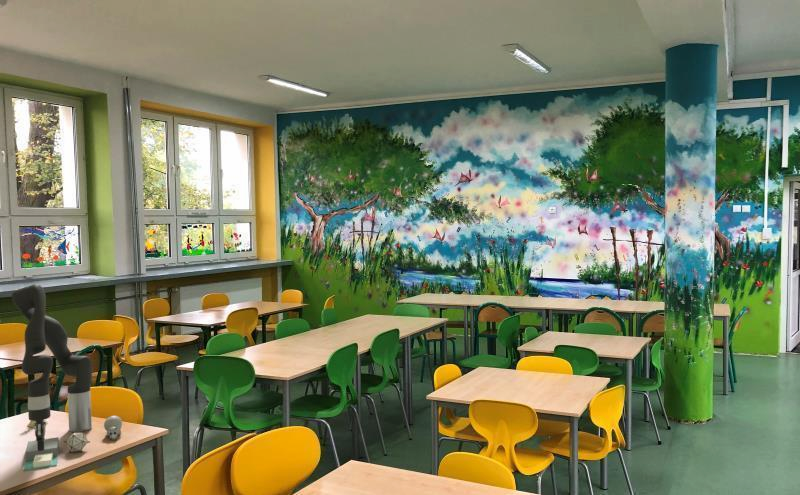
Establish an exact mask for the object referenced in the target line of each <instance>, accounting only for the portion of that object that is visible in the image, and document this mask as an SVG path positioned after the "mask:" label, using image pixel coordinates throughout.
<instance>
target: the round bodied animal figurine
mask: <svg viewBox="0 0 800 495" xmlns="http://www.w3.org/2000/svg"><path fill="white" fill-rule="evenodd" d="M122 426H123V420H122V418H121V417H119V416H118V415H111V416H109V417H107V418H105V421H104V422H103V427H104V429H105V431H106V436H107V437H109V438H110V439H111V440H112V441H114V440H117V438H118V436H120V435H121V434H122Z"/></svg>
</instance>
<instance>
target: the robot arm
mask: <svg viewBox="0 0 800 495" xmlns="http://www.w3.org/2000/svg"><path fill="white" fill-rule="evenodd" d="M11 298H12V299H11V300H12V302H13V304H14V305H15V307H16V308H17V310H18V311H19V312H20V313H21V314H22V315H23V316H24V317H25V319H27V321H28V323H27V325H26V328H25V330H24V345H25V347H24V348H25V351H24V352H25V353H24V355H23V359H22V362H21V371H22V372H23V374H25V375H26V376H27V375H28V376H29V375H36V374H37V375H39V374H42V375H41V376H39V377H37V378H35V379H33V380H30V381H28V384H27V391H28V392H27V394H28V395H27V397H28V398H27V411H28V413H27V414H28V420H29V421H36V423H34V427H33V430H34V436H35V440H36V441H37V447H38V451H43V450H44V439H46V438H45V435H46V432H47V431H46V426H47V424H46V422H44V419H45V420H47V419H50V417H51V416H52V415H51V398H50V388H49V384H50V376H51V372H52V369H53V365H54V360H53V357H52V356H51V355H50V354H42V353H43V352H44V351H45V350H46V348H47V347H48V349H49V350H50V352H51V353H52V354H53V356H54V358H55V359H56V362H57V363H58V365H59V367H60V369H61V370H62V372H63V374H65V375H66V376H68V377H75V382H74V383H72V384H69V385H68V386H67V410H68V412H67V413H68V414H67V415H68V430H69V432H72V431H73V432H74V433H80V432H84V431H85V432H86V431H88V430H92V429H93V427H92V426H93V425H92V402H91V401H92V400H91V398H92V397H91V386H92V382H93V381H92V380H93V377H92V375H93V364H92V359H91V358H90V357H89V356H87V355H75V354H73V353H72V352H71V350H70V349H69V348H68V341H69V340H68V338H69V337H68V333H67V331H66V329H65V328H64V327H63V325H62V324H61V322H59V321H58V320H57V319H55V318H53V317H51V316H49V315H47V314H46V308H47V307H46V306H47V296H46V292H45V290H44V288H43V286H42V285H40V284H38V283H34V284H31V285H26V286H24V287H21V288H18V289H16V290H14V291H13V292H12V294H11ZM46 346H47V347H46ZM40 353H41V354H40Z"/></svg>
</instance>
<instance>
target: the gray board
mask: <svg viewBox="0 0 800 495" xmlns="http://www.w3.org/2000/svg"><path fill="white" fill-rule="evenodd" d="M59 439H60V438H59V436H58V437H51V438H45V439H44V450H43V451H38V447H37V441H36V439H35V440H30V441H27V443H26V444H27V445H26V448H25V452H24V453H25V454H24V455H25V462H27V461H34V458H35V455H38V454H45V453H52V452H53V457H57V458H59V457H58V456H59V448H60V444H59V442H60V441H59Z"/></svg>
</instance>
